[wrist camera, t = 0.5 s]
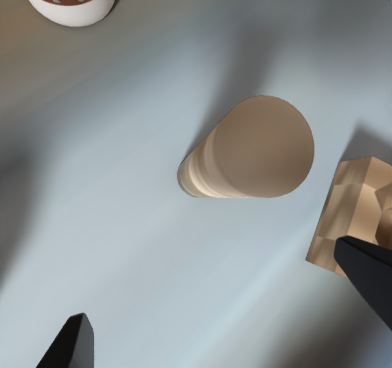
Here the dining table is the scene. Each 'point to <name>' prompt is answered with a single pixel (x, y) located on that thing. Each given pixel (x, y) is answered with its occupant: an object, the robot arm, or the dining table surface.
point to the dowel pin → (251, 153)
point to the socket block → (354, 209)
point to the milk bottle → (74, 11)
